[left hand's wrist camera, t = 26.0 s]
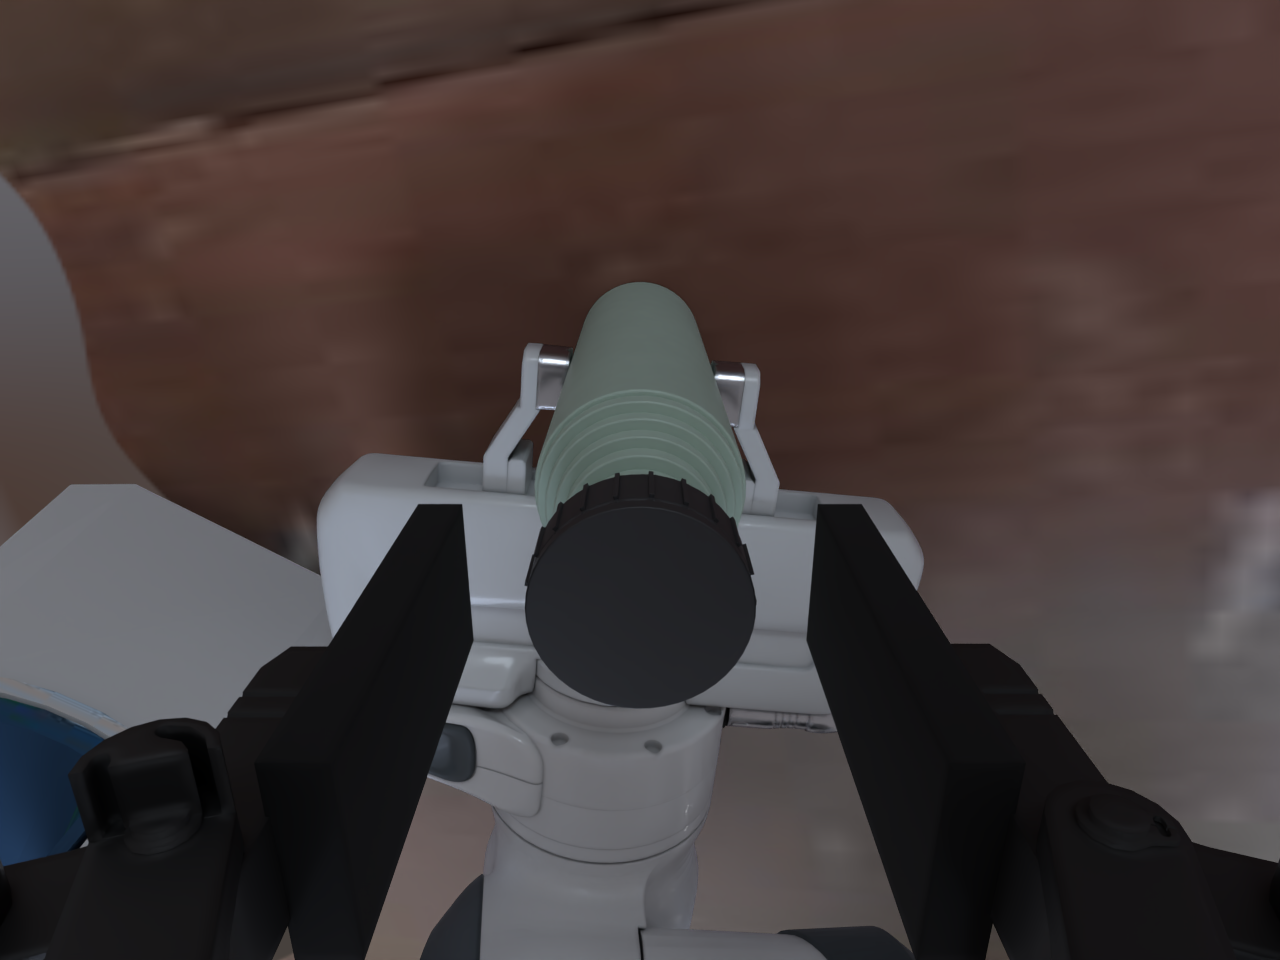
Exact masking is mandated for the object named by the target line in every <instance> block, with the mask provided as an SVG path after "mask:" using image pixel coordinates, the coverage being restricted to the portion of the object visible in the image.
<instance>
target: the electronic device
mask: <svg viewBox="0 0 1280 960" xmlns="http://www.w3.org/2000/svg"><path fill="white" fill-rule="evenodd" d="M331 641H332V635H331V630H330V626H329V621H328V616H327V611H326V606H325V600H324V594H323V588H322V581H321V576H320V575H318V574H316V573H314V572H312V571H310V570H308V569H306V568H304V567H302V566H300V565H298V564H296V563H294V562H292V561H290V560H288V559H286V558H284V557H282V556H280V555H278V554H276V553H274V552H272V551H270V550H268V549H266V548H264V547H262V546H260V545H258V544H256V543H254V542H252V541H250V540H248V539H246V538H244V537H242V536H240V535H238V534H236V533H234V532H232V531H230V530H228V529H226V528H224V527H222V526H220V525H218V524H215V523H213V522H211V521H209V520H207V519H205V518H203V517H201V516H199V515H197V514H195V513H193V512H191V511H189V510H187V509H185V508H183V507H181V506H179V505H177V504H175V503H173V502H171V501H169V500H167V499H165V498H163V497H161V496H159V495H157V494H155V493H153V492H151V491H149V490H147V489H145V488H143V487H141V486H139V485H137V484H71V485H69V486H68V487H67V488H66V489H65V490H64V491H63V492H62V493H60V494H59V495H58V496H57V497H56V498H55V499H54V500H52V501H51V502H50V503H49V504H48V505H47V506H46V507H45V508H43V509H42V510H41V511H40V512H39V513H38V514H37V515H36V516H34V517H33V518H32V519H31V520H30V521H29V522H28V523H26V524H25V525H24V526H23V527H22V528H21V529H20V530H19V531H17V532H16V533H15V534H14V535H13V536H12V537H11V538H10V539H8V540H7V541H6V542H5V543H4V544H3V545H2V546H0V860H1V862H2V865H3V866H7V865H11V864H16V863H20V862H24V861H29V860H33V859H37V858H42V857H46V856H50V855H55V854H59V853H63V852H68V851H72V850H75V849H78V848H82V847H85V846H87V845H88V843H89V842H88V839H87V836H86V832H85V829H84V826H83V823H82V819H81V816H80V813H79V810H78V807H77V803H76V800H75V797H74V794H73V790H72V787H71V784H70V781H69V778H68V774H69V772H70V771H71V770H72V768H73V767H74V766H75V764H76V763H77V762H78V760H79V759H80V758H81V757H82V756H83V755H84V754H86V753H87V752H88V751H90V750H91V749H92V748H94V747H95V746H96V745H98V744H99V743H100V742H102V741H103V740H105V739H107V738H109V737H111V736H113V735H115V734H118V733H120V732H122V731H124V730H126V729H128V728H130V727H133V726H137V725H141V724H144V723H148V722H152V721H155V720H159V719H171V718H191V719H196V720H201V721H205V722H208V723H209V724H210V725H211V726H212V727H214V728H215V729H216V727H217V726H218V725H219V723H220V722H221V721H222V719H223V718H227V715H228V711H229V710H230V708H231V707H232V706H233V704H234V703H235V702H236V700H237V699H238V698H239V697H242V695H243V691H244V689H245V688H246V687H247V685H248V684H249V683H250V681H251V680H252V679H253V677H254V676H255V675H256V673H257V672H258V670H259V669H260V668H261V667H262V666H264V665H265V664H266V663H268V662H269V661H271V660H272V659H274V658H275V657H277V656H278V655H279V654H281V653H282V652H284V651H285V650H287V649H288V648H289V647H291V646H328V645H329V644H330V642H331Z"/></svg>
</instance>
